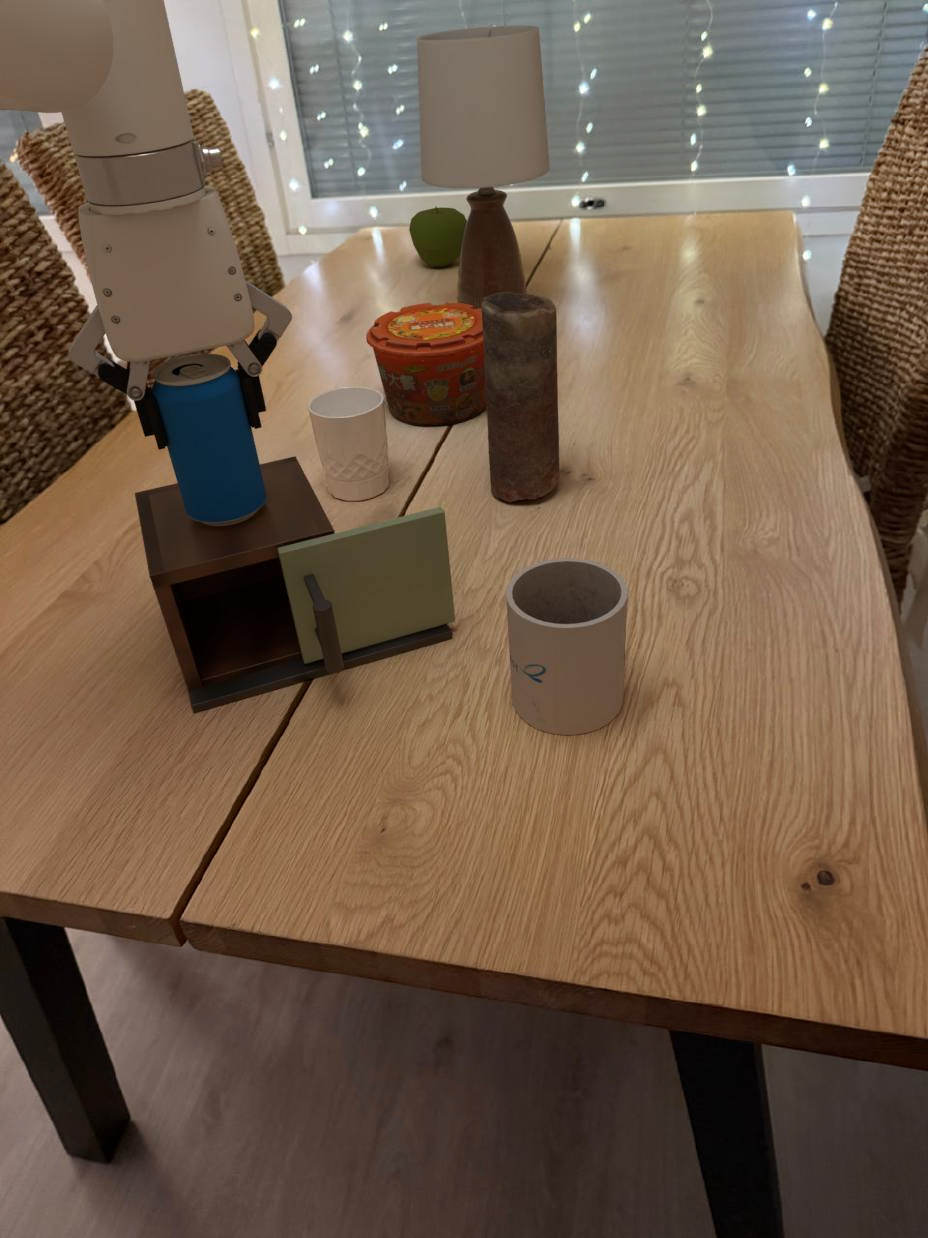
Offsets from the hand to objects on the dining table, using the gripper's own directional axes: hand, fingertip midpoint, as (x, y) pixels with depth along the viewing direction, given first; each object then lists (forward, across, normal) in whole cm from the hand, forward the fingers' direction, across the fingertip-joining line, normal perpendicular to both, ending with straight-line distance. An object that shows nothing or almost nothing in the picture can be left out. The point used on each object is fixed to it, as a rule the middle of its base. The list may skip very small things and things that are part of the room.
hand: (207, 429), depth 70 cm
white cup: (+19, -15, -21) cm, 32 cm away
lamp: (+19, -50, -68) cm, 87 cm away
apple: (+19, -51, -95) cm, 110 cm away
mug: (+19, -21, +18) cm, 34 cm away
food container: (+19, -30, -37) cm, 51 cm away
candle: (+19, -31, -12) cm, 38 cm away
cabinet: (+19, -4, +1) cm, 19 cm away
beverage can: (+7, 0, 0) cm, 7 cm away
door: (+18, -9, +10) cm, 23 cm away
